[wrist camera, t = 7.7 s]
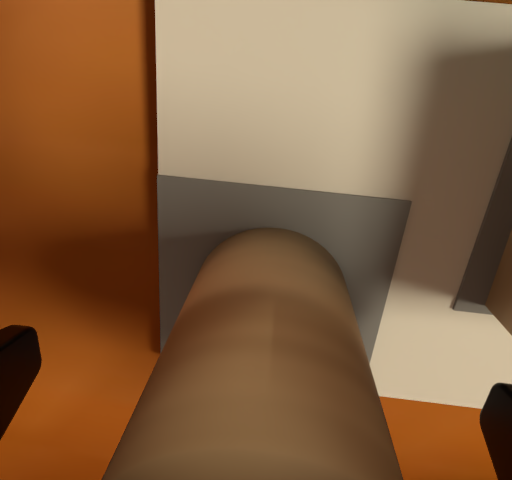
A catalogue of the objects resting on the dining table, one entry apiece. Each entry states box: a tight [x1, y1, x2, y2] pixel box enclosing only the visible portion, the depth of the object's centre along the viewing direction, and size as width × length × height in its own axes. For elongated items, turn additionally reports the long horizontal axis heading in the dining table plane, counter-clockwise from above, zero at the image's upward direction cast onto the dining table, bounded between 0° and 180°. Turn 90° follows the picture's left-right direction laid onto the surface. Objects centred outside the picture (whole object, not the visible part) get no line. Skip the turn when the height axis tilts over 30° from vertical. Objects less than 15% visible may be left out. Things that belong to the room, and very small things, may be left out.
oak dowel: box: [102, 228, 403, 480], centre depth 7 cm, size 4×4×6 cm
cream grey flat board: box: [155, 0, 512, 409], centre depth 9 cm, size 10×16×1 cm, turn 85°
